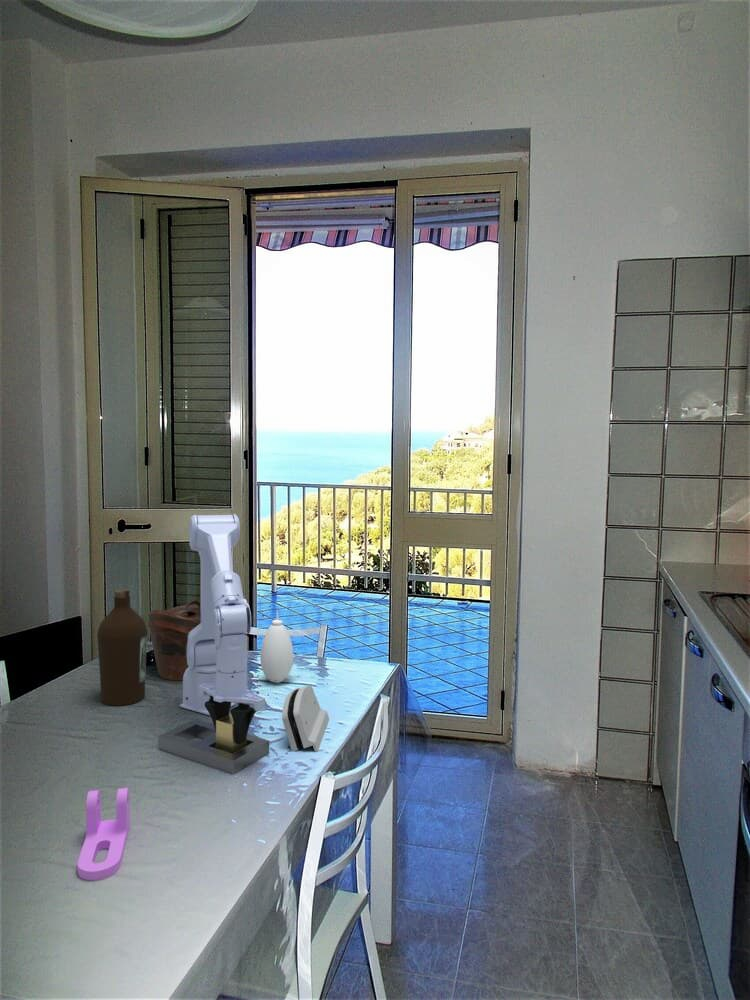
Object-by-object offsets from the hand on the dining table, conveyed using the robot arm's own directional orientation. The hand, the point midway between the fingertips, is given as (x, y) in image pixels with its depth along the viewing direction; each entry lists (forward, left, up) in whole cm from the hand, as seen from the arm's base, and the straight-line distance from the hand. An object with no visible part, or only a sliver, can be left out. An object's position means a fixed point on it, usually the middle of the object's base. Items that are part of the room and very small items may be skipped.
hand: (231, 739), depth 131 cm
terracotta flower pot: (-42, +30, -4) cm, 52 cm away
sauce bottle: (-18, +37, -4) cm, 42 cm away
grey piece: (+5, +16, -4) cm, 17 cm away
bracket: (+5, -33, -4) cm, 33 cm away
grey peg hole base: (-4, 0, -3) cm, 6 cm away
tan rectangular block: (0, 0, -2) cm, 2 cm away
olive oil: (-40, +9, -4) cm, 42 cm away
